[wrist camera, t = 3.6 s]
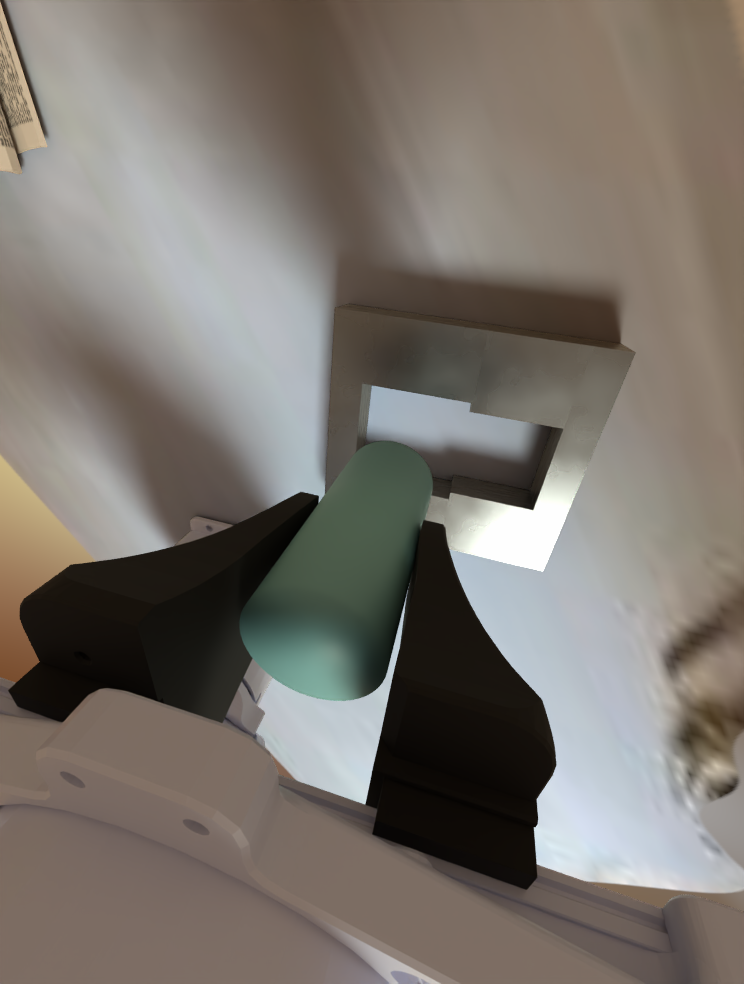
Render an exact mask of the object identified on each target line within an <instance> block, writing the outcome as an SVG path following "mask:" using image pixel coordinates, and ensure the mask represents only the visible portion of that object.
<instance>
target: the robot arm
mask: <svg viewBox="0 0 744 984" xmlns="http://www.w3.org/2000/svg"><path fill="white" fill-rule="evenodd" d="M318 502H319V496H317V495H313V494H308V493H304V492H300V493H298V494H296V495H294V496H292V497H290V498H288V499H286V500H284V501H282V502H280V503H278V504H277V505H275V506H273V507H271V508H269V509H267V510H265V511H263V512H261V513H259V514H257V515H255V516H253V517H251V518H249V519H247V520H245V521H242V522H240V523H238V524H236V525H230V524H226V523H222V522H218V521H214V520H210V519H206V518H202V517H197V516H196V517H194V518H192V519H191V521H190V527H191V531H190V532H189V533H188V534H187V535H186V536H185V537H183V538H182V539H181V540H180V541H179V542H178V543H177V544H176V545H174V546H173V547H170V548H166V549H162V550H158V551H154V552H149V553H145V554H140V555H135V556H130V557H124V558H118V559H112V560H105V561H97V562H91V563H83V564H73V565H70V566H69V567H67V568H66V569H64V570H63V571H62V572H60V573H59V574H58V575H56V576H55V577H53V578H52V579H51V580H49V581H48V582H46V583H45V584H44V585H42V586H41V587H40V588H38V589H37V590H35V591H34V592H33V593H31V594H30V595H28V596H27V597H26V598H24V600H23V601H22V603H21V605H20V620H21V623H22V626H23V628H24V630H25V632H26V634H27V636H28V638H29V641H30V642H31V645H32V647H33V649H34V651H35V653H36V655H37V657H38V659H39V661H40V662H39V663H38V664H37V665H36V666H35V667H33V668H32V669H31V670H30V671H29V672H28V673H27V674H26V675H24V676H23V677H22V678H21V679H20V680H19V681H18V682H16V683H14V682H12V681H9V680H6V679H3V678H0V984H744V911H741V910H738V909H735V908H732V907H729V906H726V905H723V904H720V903H717V902H714V901H711V900H708V899H706V898H702V897H697V896H694V895H679V896H676V897H673V898H672V899H670V900H669V901H668V902H667V904H666V905H665V906H664V907H663V908H660V907H657V906H654V905H651V904H648V903H645V902H642V901H639V900H636V899H634V898H631V897H628V896H625V895H622V894H620V893H616V892H614V891H611V890H608V889H605V888H602V887H599V886H596V885H594V884H591V883H588V882H585V881H582V880H579V879H577V878H574V877H571V876H568V875H565V874H562V873H559V872H556V871H554V870H551V869H548V868H545V867H542V866H539V865H537V864H536V851H535V838H534V827H536V826H537V823H538V812H537V800H536V799H537V798H538V796H539V795H540V793H541V792H542V790H543V789H544V787H545V786H546V784H547V783H548V781H549V780H550V778H551V777H552V775H553V773H554V770H555V767H556V754H555V746H554V741H553V736H552V732H551V728H550V725H549V721H548V717H547V714H546V711H545V708H544V704H543V701H542V699H541V698H540V697H539V696H538V695H537V694H536V693H535V692H534V690H533V689H532V688H531V687H530V686H529V685H528V684H527V683H526V682H525V681H524V680H523V679H522V677H521V676H520V675H519V674H518V673H517V672H516V671H515V670H514V669H513V667H512V666H511V665H510V664H509V662H508V661H507V660H506V659H505V657H504V656H503V655H502V654H501V652H500V651H499V649H498V648H497V647H496V645H495V644H494V642H493V641H492V639H491V638H490V636H489V635H488V634H487V632H486V631H485V629H484V627H483V626H482V624H481V622H480V621H479V619H478V617H477V616H476V614H475V612H474V610H473V608H472V606H471V605H470V603H469V601H468V599H467V597H466V594H465V592H464V590H463V588H462V585H461V583H460V581H459V578H458V575H457V573H456V570H455V567H454V564H453V561H452V558H451V554H450V551H449V547H448V542H447V537H446V528H445V526H444V525H443V524H440V523H436V522H431V521H427V520H423V523H422V526H421V530H420V534H419V539H418V544H417V549H416V555H415V561H414V567H413V571H412V575H411V579H410V583H409V588H408V593H407V598H406V606H405V613H404V621H403V628H402V636H401V644H400V649H399V653H398V657H397V661H396V665H395V669H394V674H393V679H392V683H391V688H390V693H389V698H388V702H387V707H386V712H385V717H384V721H383V726H382V731H381V736H380V740H379V744H378V749H377V753H376V757H375V762H374V766H373V771H372V776H371V781H370V786H369V790H368V795H367V800H366V805H364V804H362V803H359V802H356V801H353V800H350V799H347V798H344V797H341V796H339V795H336V794H333V793H330V792H327V791H324V790H321V789H319V788H316V787H313V786H310V785H307V784H304V783H301V782H298V781H296V780H292V779H290V778H287V777H284V776H281V775H279V774H278V771H277V768H276V766H275V763H274V761H273V759H272V756H271V754H270V752H269V751H268V750H267V749H266V748H265V741H264V739H263V738H262V736H260V735H259V734H257V733H256V731H257V729H258V727H259V725H260V723H261V721H262V719H263V717H264V715H265V712H264V711H263V710H262V709H260V708H259V707H258V705H259V703H260V701H261V699H262V697H263V695H264V693H265V691H266V690H267V688H268V686H269V684H270V682H271V680H272V678H273V677H271V676H270V675H269V674H268V673H266V672H265V671H264V670H263V669H262V668H261V667H260V666H259V665H258V664H257V663H256V662H255V660H254V659H253V658H252V657H251V655H250V654H249V652H248V651H247V649H246V647H245V645H244V643H243V640H242V637H241V634H240V628H239V627H240V616H241V612H242V610H243V608H244V606H245V605H246V603H247V602H248V601H249V599H250V598H251V596H252V595H253V594H254V592H255V591H256V590H257V588H258V587H259V585H260V584H261V583H262V581H263V580H264V578H265V577H266V576H267V574H268V573H269V572H270V570H271V569H272V567H273V566H274V565H275V563H276V562H277V560H278V559H279V558H280V556H281V555H282V553H283V552H284V551H285V549H286V548H287V547H288V545H289V544H290V542H291V541H292V540H293V538H294V537H295V535H296V534H297V533H298V531H299V530H300V529H301V527H302V526H303V524H304V523H305V522H306V520H307V519H308V517H309V516H310V515H311V513H312V512H313V510H314V509H315V508H316V506H317V505H318ZM210 526H211V527H212V528H211V527H210Z"/></svg>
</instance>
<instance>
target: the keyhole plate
mask: <svg viewBox="0 0 744 984" xmlns="http://www.w3.org/2000/svg"><path fill="white" fill-rule="evenodd" d="M635 353H636V352H634V351H632V350H631V349H629V348H628V347H626V346H624V345H623V344H620V343H613V342H606V341H600V340H593V339H586V338H579V337H572V336H565V335H559V334H552V333H545V332H538V331H531V330H524V329H518V328H511V327H504V326H497V325H490V324H483V323H477V322H470V321H463V320H456V319H449V318H442V317H436V316H429V315H422V314H415V313H408V312H401V311H395V310H388V309H381V308H374V307H367V306H360V305H354V304H346V305H343V306H339V307H336V308H335V315H334V334H333V352H332V371H331V390H330V409H329V427H328V446H327V465H326V484H325V494H326V492H327V491H328V490H329V488H330V487H331V486H332V484H333V483H334V481H335V480H336V479H337V477H338V476H339V474H340V473H341V472H342V470H343V469H344V468H345V466H346V465H347V463H348V462H349V461H350V459H351V458H352V456H353V455H354V454H355V453H356V452H357V451H358V450H359V449H360V448H362V447H364V446H365V443H366V434H367V424H368V415H369V405H370V396H371V386H372V385H373V386H379V387H384V388H390V389H396V390H401V391H407V392H413V393H418V394H424V395H429V396H435V397H441V398H446V399H452V400H458V401H463V402H469V403H471V406H470V412H474V413H479V414H485V415H490V416H496V417H501V418H507V419H512V420H518V421H523V422H529V423H535V424H540V425H546V426H551V427H552V430H551V433H550V435H549V438H548V441H547V444H546V447H545V449H544V452H543V455H542V458H541V461H540V464H539V466H538V469H537V472H536V475H535V478H534V480H533V483H532V486H531V489H530V491H529V490H524V489H520V488H515V487H510V486H505V485H500V484H495V483H491V482H486V481H481V480H476V479H471V478H466V477H462V476H457V475H453V479H452V481H448V480H444V479H439V478H434V477H432V480H433V490H432V495H431V499H430V503H429V507H428V511H427V515H426V519H425V520H427V521H431V522H436V523H440V524H443V525H444V526H445V528H446V537H447V542H448V547H449V549H451V550H455V551H459V552H463V553H468V554H472V555H476V556H480V557H484V558H489V559H493V560H497V561H501V562H506V563H510V564H514V565H518V566H522V567H527V568H531V569H535V570H539V571H543V570H544V568H545V565H546V563H547V561H548V558H549V556H550V554H551V551H552V549H553V547H554V544H555V542H556V539H557V537H558V535H559V532H560V530H561V528H562V525H563V523H564V521H565V518H566V516H567V513H568V511H569V509H570V506H571V504H572V502H573V499H574V497H575V495H576V492H577V490H578V488H579V485H580V483H581V480H582V478H583V476H584V473H585V471H586V469H587V466H588V464H589V462H590V459H591V457H592V454H593V452H594V450H595V447H596V445H597V443H598V440H599V438H600V436H601V433H602V431H603V429H604V426H605V424H606V421H607V419H608V417H609V414H610V412H611V410H612V407H613V405H614V403H615V400H616V398H617V395H618V393H619V391H620V388H621V386H622V384H623V381H624V379H625V377H626V374H627V372H628V369H629V367H630V365H631V362H632V360H633V358H634V355H635Z"/></svg>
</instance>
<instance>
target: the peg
mask: <svg viewBox="0 0 744 984" xmlns="http://www.w3.org/2000/svg"><path fill="white" fill-rule="evenodd" d="M432 490H433V480H432V475H431V472H430V469H429V467H428V465H427V464H426V462H425V461H424V459H423V458H422V457H421V456H420V455H419V454H418V453H417V452H415V451H414V450H413V449H411V448H409V447H408V446H406V445H403V444H401V443H397V442H392V441H378V442H373V443H370V444H368V445H365V446H364V447H362V448H360V449H359V450H358V451H357V452H356V453H355V454H354V455H353V456H352V458H351V459H350V461H349V462H348V463H347V465H346V466H345V468H344V469H343V470H342V472H341V473H340V474H339V476H338V477H337V479H336V480H335V481H334V483H333V484H332V486H331V487H330V488H329V490H328V491H327V492H326V494H325V495H324V497H323V498H322V499H321V501H320V502H319V504H318V505H317V506H316V508H315V509H314V510H313V512H312V513H311V515H310V516H309V517H308V519H307V520H306V522H305V523H304V524H303V526H302V527H301V529H300V530H299V531H298V533H297V534H296V535H295V537H294V538H293V540H292V541H291V542H290V544H289V545H288V547H287V548H286V549H285V551H284V552H283V553H282V555H281V556H280V558H279V559H278V560H277V562H276V563H275V565H274V566H273V567H272V569H271V570H270V572H269V573H268V574H267V576H266V577H265V578H264V580H263V581H262V583H261V584H260V585H259V587H258V588H257V590H256V591H255V592H254V594H253V595H252V596H251V598H250V599H249V601H248V602H247V603H246V605H245V606H244V608H243V610H242V612H241V616H240V627H239V628H240V634H241V637H242V640H243V643H244V645H245V647H246V649H247V651H248V652H249V654H250V655H251V657H252V658H253V659H254V660H255V662H256V663H257V664H258V665H259V666H260V667H261V668H262V669H263V670H264V671H265V672H266V673H268V674H269V675H270V676H271V677H273V678H274V679H275V680H277V681H278V682H280V683H282V684H283V685H285V686H287V687H289V688H291V689H293V690H295V691H297V692H299V693H302V694H305V695H308V696H311V697H315V698H319V699H324V700H332V701H346V700H354V699H358V698H361V697H364V696H367V695H368V694H370V693H372V692H373V691H375V690H376V689H377V688H378V687H379V686H380V685H381V684H382V682H383V681H384V679H385V677H386V673H387V670H388V666H389V662H390V658H391V654H392V650H393V646H394V642H395V638H396V634H397V630H398V626H399V622H400V618H401V614H402V610H403V606H404V602H405V598H406V594H407V590H408V586H409V583H410V579H411V575H412V571H413V567H414V561H415V555H416V549H417V544H418V539H419V534H420V530H421V526H422V523H423V520H425V519H426V515H427V511H428V507H429V503H430V499H431V495H432Z"/></svg>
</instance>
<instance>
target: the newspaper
mask: <svg viewBox="0 0 744 984" xmlns="http://www.w3.org/2000/svg"><path fill="white" fill-rule="evenodd" d="M40 147H47V144H46V141H45V138H44V135H43V132H42V129H41V126H40V123H39V120H38V116H37V113H36V110H35V107H34V104H33V101H32V98H31V95H30V92H29V89H28V86H27V83H26V80H25V77H24V73H23V70H22V67H21V64H20V61H19V58H18V55H17V52H16V49H15V46H14V43H13V40H12V37H11V34H10V30H9V27H8V24H7V21H6V18H5V15H4V12H3V9H2V6H1V3H0V171H7V172H11V173H15V174H21V173H22V170H21V167H20V164H19V161H18V158H17V154H19V153H22V152H24V151H27V150H30V149H35V148H40Z"/></svg>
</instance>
